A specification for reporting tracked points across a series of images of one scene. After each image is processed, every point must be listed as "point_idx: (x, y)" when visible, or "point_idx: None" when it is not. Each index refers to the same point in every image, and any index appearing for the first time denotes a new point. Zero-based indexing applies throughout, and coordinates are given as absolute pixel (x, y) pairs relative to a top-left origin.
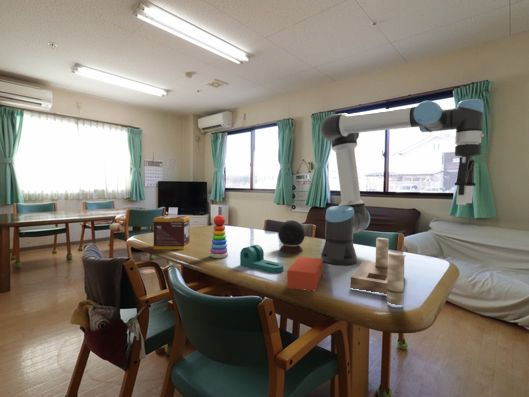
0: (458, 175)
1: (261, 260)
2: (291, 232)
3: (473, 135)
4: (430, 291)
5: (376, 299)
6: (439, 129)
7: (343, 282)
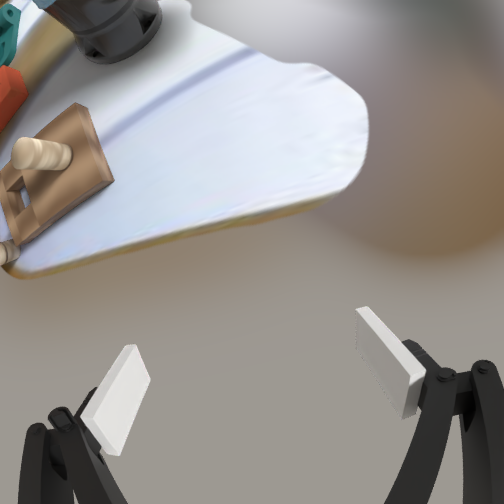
0: (26, 466)
1: (8, 29)
2: None
3: None
4: (87, 254)
5: None
6: None
7: None
